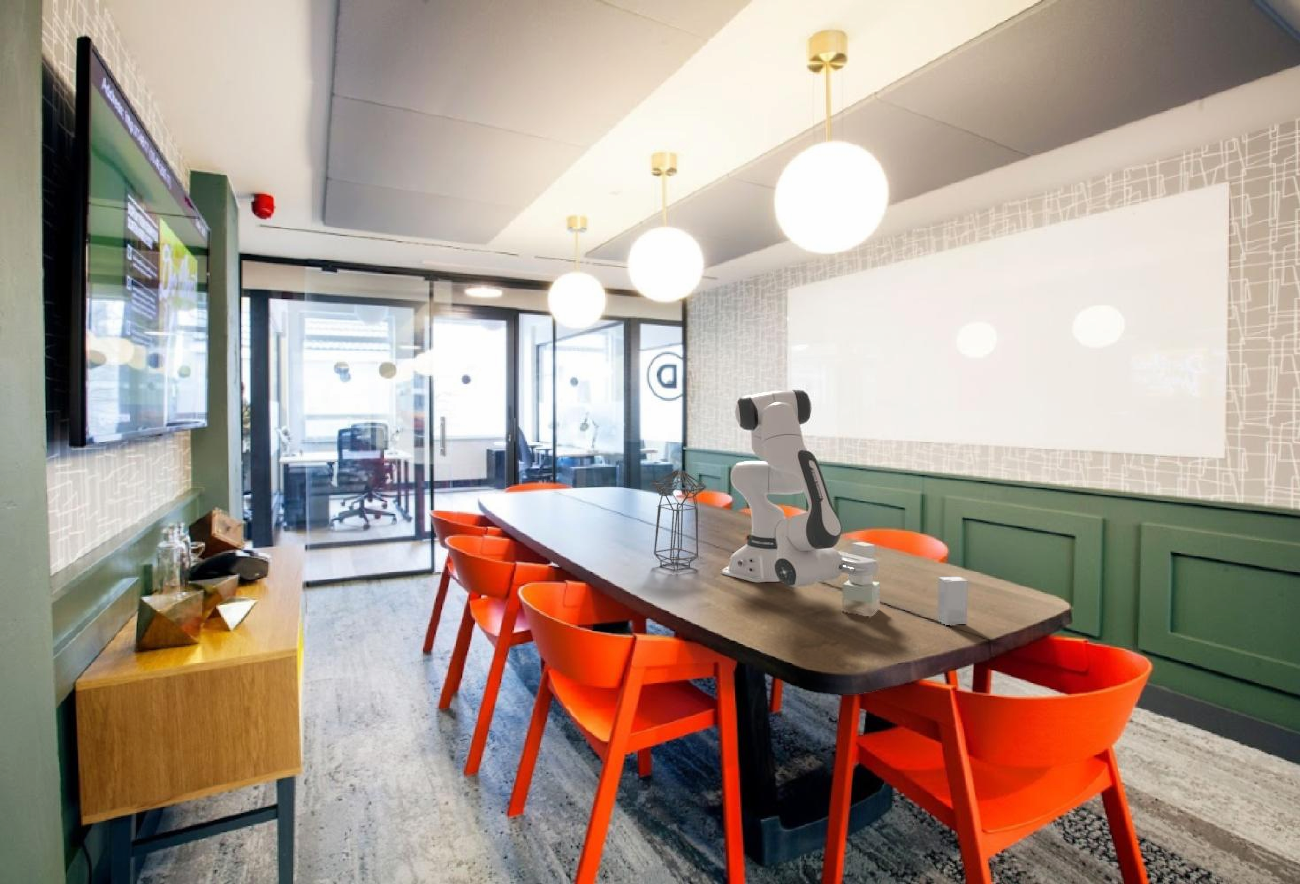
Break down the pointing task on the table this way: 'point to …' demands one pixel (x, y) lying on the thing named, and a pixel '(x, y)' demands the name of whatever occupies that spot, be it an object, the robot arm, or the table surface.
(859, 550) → the tall grey block
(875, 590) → the sage block
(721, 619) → the table surface
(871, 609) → the ash block
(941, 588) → the skincare box
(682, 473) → the geometric lantern
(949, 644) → the table surface
